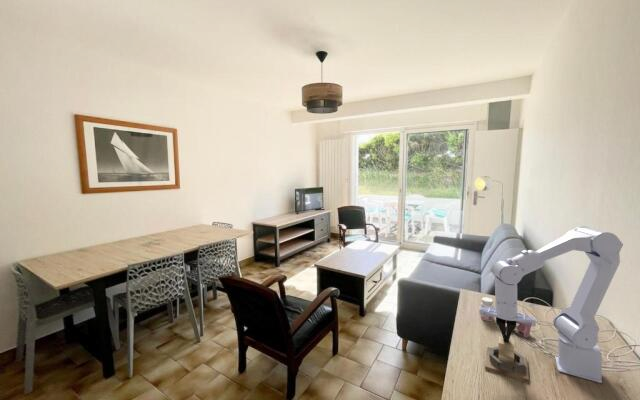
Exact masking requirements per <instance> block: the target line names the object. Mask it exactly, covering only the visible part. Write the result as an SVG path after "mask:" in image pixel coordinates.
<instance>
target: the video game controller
mask: <svg viewBox="0 0 640 400" xmlns="http://www.w3.org/2000/svg"><path fill="white" fill-rule="evenodd" d="M516 324H517V326H516V328H515V330H517V331H518V332H519V333H523V337H524V338H525V339H527V338H528V337H529V336H530V333H531V329H532V326H531V325H530V324H526V323H521V322H516ZM506 325H507V320H506Z"/></svg>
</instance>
